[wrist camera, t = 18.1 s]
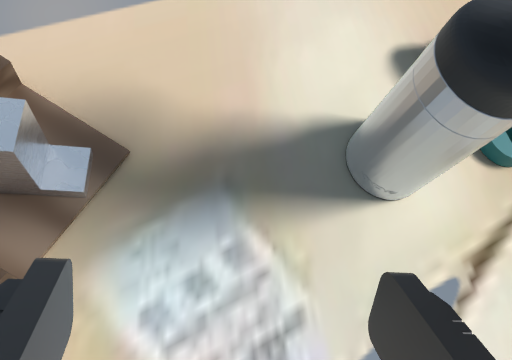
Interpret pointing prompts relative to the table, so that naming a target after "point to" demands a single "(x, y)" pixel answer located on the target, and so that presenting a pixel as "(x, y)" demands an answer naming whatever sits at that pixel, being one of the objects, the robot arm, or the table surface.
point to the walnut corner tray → (42, 206)
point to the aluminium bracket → (38, 157)
